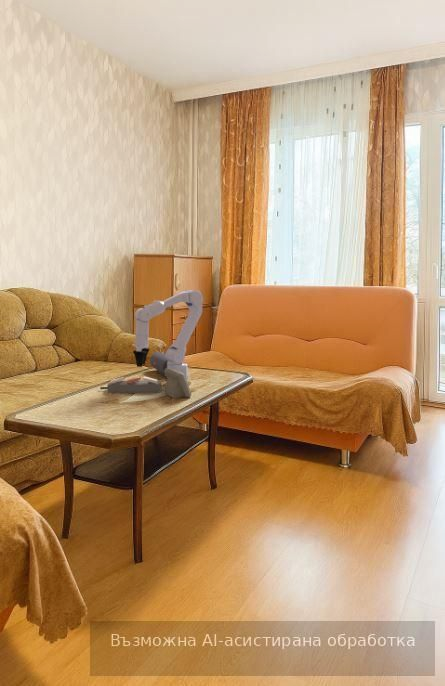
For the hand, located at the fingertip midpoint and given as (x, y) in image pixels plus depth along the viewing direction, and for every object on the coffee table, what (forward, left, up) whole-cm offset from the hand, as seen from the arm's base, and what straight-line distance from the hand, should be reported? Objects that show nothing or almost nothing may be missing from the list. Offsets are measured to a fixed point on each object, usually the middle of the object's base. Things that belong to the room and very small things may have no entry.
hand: (140, 365), depth 233 cm
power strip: (+4, +8, -10) cm, 13 cm away
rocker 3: (-5, +10, -5) cm, 12 cm away
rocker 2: (+2, +10, -5) cm, 11 cm away
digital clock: (-18, +16, -10) cm, 26 cm away
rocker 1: (+9, +10, -5) cm, 14 cm away
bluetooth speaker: (-6, -28, -10) cm, 30 cm away
